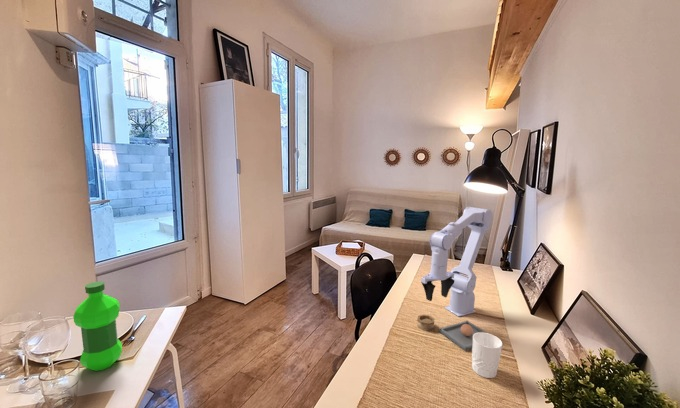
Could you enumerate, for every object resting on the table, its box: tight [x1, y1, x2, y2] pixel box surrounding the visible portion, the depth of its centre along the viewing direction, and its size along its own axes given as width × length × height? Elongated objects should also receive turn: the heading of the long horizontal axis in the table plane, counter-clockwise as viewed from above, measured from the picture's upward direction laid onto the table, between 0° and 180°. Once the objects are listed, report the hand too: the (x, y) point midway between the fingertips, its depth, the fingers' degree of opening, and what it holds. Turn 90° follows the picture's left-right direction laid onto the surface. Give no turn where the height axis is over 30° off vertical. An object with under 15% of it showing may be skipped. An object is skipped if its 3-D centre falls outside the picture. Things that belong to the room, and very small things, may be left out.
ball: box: [461, 324, 473, 336], centre depth 107 cm, size 4×4×4 cm
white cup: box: [471, 332, 503, 379], centre depth 90 cm, size 8×8×10 cm
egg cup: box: [416, 314, 435, 332], centre depth 114 cm, size 6×6×3 cm
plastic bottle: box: [73, 280, 123, 372], centre depth 87 cm, size 10×10×25 cm
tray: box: [438, 320, 488, 352], centre depth 108 cm, size 14×12×1 cm
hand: (436, 298), depth 115 cm, fingers open, 7 cm apart
